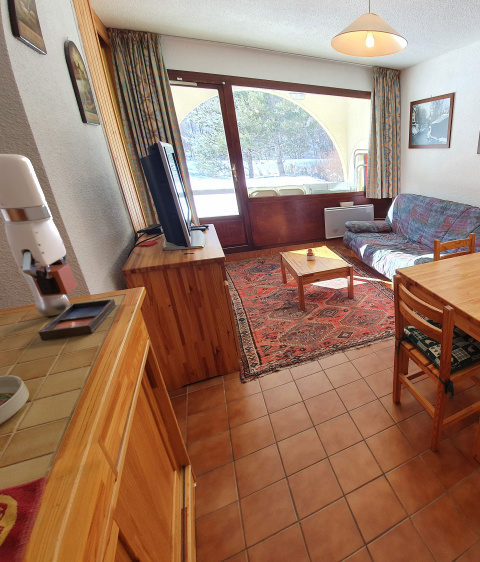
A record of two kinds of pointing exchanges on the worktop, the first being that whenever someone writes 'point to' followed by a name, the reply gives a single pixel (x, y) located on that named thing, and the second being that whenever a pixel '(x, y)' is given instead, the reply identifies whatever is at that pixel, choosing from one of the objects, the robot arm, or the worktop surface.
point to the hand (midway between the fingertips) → (58, 288)
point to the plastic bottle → (46, 299)
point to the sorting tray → (78, 319)
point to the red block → (60, 279)
